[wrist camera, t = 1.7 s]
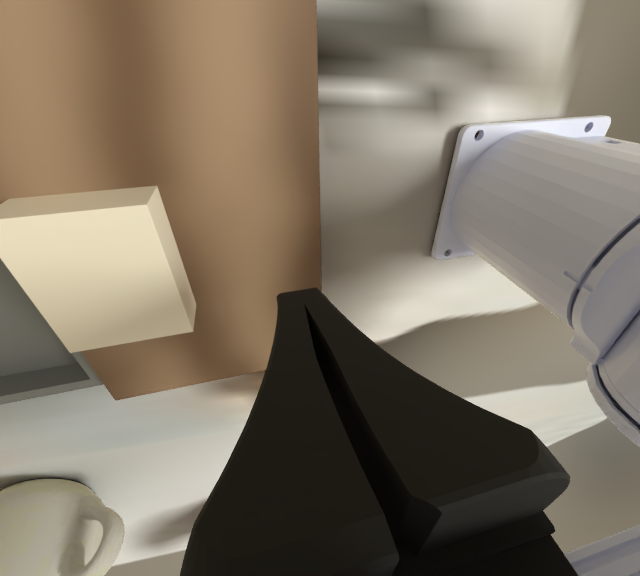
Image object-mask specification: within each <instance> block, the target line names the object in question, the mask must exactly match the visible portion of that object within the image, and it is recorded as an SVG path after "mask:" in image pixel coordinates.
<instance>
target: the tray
mask: <svg viewBox="0 0 640 576" xmlns="http://www.w3.org/2000/svg"><path fill="white" fill-rule="evenodd" d="M103 384H104V383H103V382H102V381H101V379H100V378H99V376H98V375H97V374H96V372H95V371H94V369H93V368H92V366H91V365H90V364H89V362H88V361H87V359H86V358H85V356H84V355H83V354H82V352H81V351H79V352H73V353H70V352H69V351H68V350H67V348H66V347H65V345H64V344H63V343H62V341H61V340H60V339H59V337H58V336H57V335H56V333H55V332H54V331H53V329H52V328H51V326H50V325H49V324H48V322H47V321H46V320H45V318H44V317H43V316H42V314H41V313H40V312H39V310H38V309H37V307H36V306H35V305H34V303H33V302H32V301H31V299H30V298H29V297H28V295H27V294H26V292H25V291H24V290H23V288H22V287H21V286H20V284H19V283H18V282H17V280H16V279H15V278H14V276H13V275H12V273H11V272H10V271H9V269H8V268H7V267H6V265H5V264H4V263H3V261H2V260H1V259H0V404H4V403H10V402H15V401H20V400H25V399H30V398H35V397H41V396H46V395H51V394H56V393H61V392H66V391H72V390H77V389H82V388H87V387H92V386H97V385H103Z"/></svg>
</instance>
